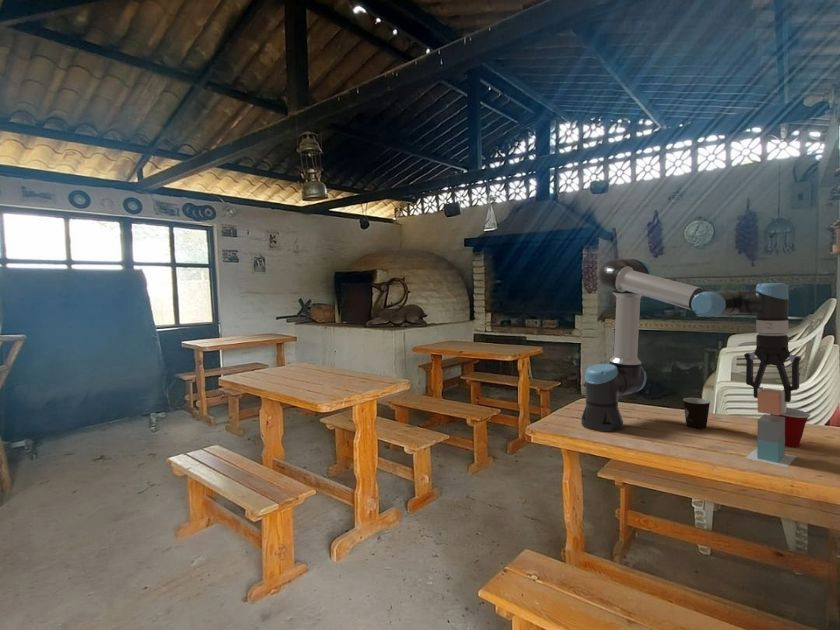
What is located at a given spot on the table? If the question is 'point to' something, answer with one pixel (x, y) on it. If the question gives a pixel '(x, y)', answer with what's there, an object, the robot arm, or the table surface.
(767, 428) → the charcoal brick
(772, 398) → the terracotta brick
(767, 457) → the teal base brick
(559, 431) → the table surface
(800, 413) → the plastic cup
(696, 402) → the coffee mug
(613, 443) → the table surface
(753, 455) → the baseplate
